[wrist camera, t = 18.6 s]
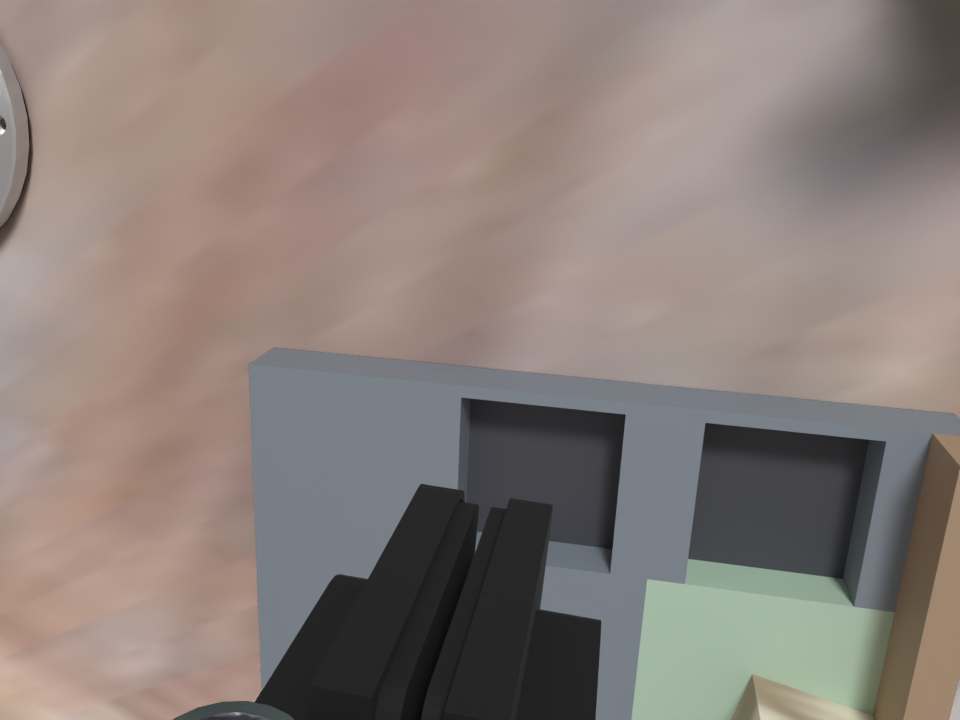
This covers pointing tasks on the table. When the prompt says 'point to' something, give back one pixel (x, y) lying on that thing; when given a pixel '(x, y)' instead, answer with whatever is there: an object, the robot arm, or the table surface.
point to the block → (788, 704)
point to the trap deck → (637, 522)
